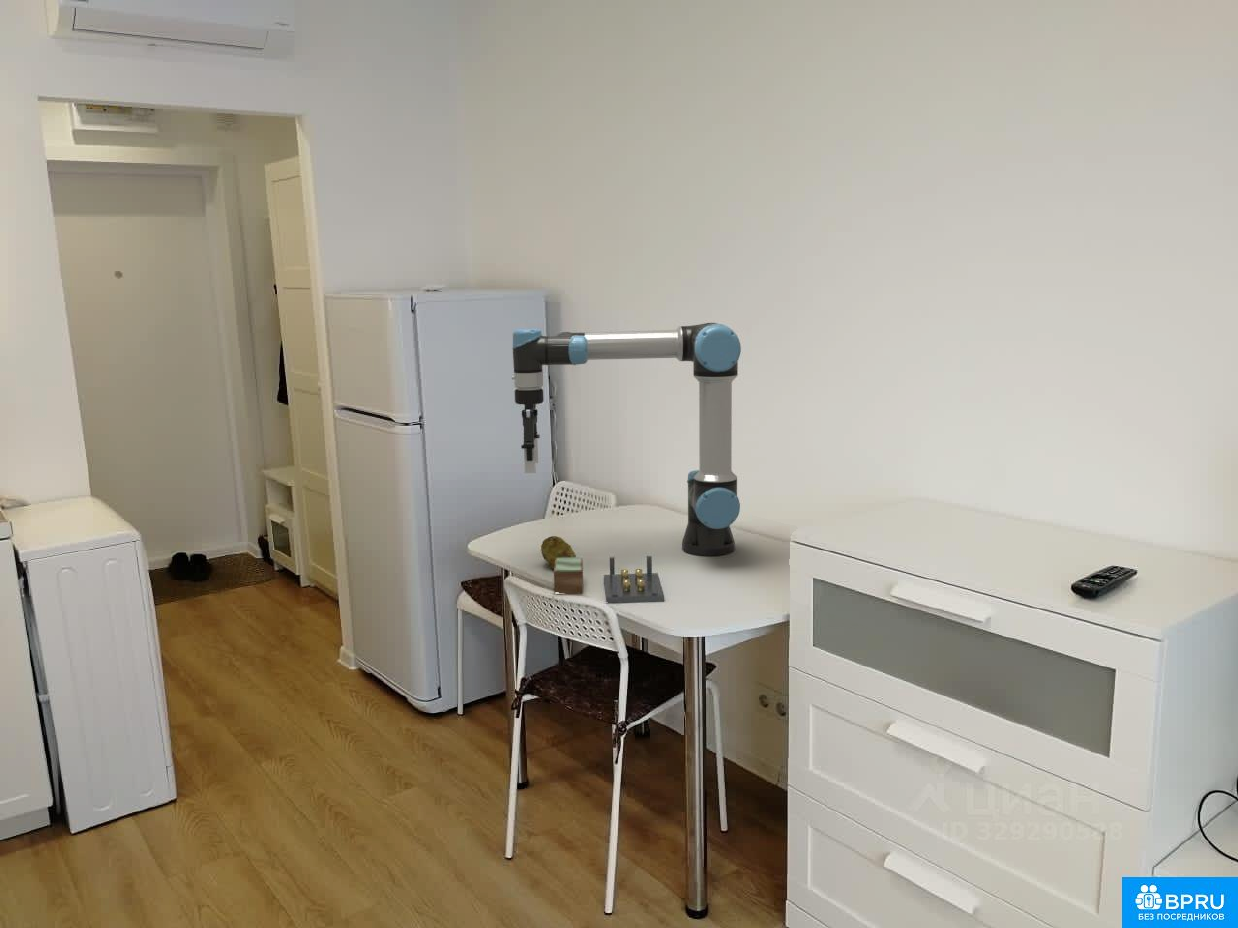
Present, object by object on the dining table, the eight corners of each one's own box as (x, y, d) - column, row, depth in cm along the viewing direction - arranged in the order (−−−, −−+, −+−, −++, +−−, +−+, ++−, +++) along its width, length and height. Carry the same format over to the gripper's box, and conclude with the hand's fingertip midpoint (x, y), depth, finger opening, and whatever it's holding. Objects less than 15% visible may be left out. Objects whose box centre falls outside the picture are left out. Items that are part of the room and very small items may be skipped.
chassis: (603, 580, 254) (603, 556, 252) (657, 578, 254) (657, 554, 253) (606, 603, 236) (605, 577, 235) (664, 601, 237) (663, 575, 235)
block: (556, 580, 255) (555, 557, 254) (583, 579, 255) (582, 556, 254) (554, 595, 243) (553, 570, 242) (582, 594, 244) (582, 570, 242)
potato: (549, 576, 258) (548, 546, 257) (539, 562, 270) (538, 534, 269) (579, 572, 261) (578, 543, 259) (568, 559, 273) (567, 532, 271)
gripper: (517, 383, 268) (520, 459, 272) (510, 394, 243) (514, 477, 247) (545, 382, 268) (547, 458, 272) (541, 393, 244) (543, 476, 248)
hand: (531, 467), depth 260 cm, fingers open, 13 cm apart
